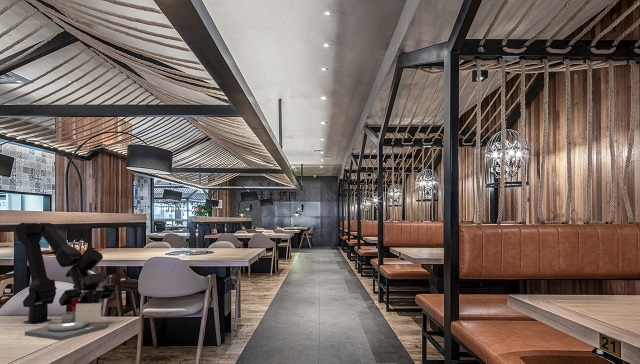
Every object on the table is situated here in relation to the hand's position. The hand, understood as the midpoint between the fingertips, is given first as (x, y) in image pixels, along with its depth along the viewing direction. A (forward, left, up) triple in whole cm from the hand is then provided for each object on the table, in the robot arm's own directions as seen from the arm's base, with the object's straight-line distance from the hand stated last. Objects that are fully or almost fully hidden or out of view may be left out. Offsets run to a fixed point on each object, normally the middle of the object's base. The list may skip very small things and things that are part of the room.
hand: (97, 313), depth 150 cm
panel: (-7, -6, -6) cm, 11 cm away
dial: (-5, -5, -4) cm, 8 cm away
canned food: (-26, +12, -6) cm, 30 cm away
